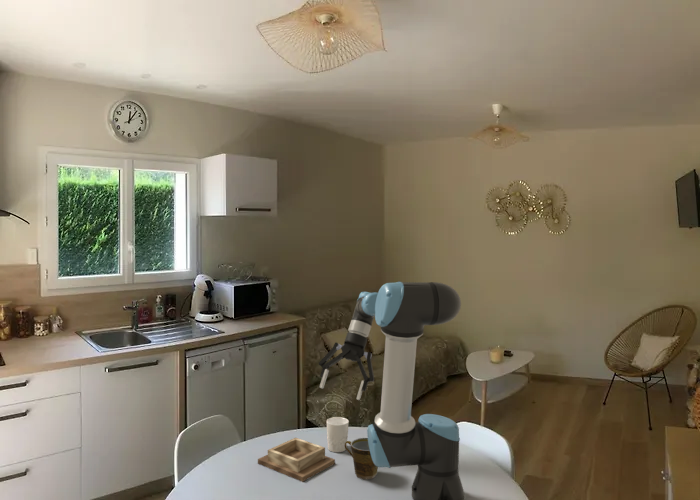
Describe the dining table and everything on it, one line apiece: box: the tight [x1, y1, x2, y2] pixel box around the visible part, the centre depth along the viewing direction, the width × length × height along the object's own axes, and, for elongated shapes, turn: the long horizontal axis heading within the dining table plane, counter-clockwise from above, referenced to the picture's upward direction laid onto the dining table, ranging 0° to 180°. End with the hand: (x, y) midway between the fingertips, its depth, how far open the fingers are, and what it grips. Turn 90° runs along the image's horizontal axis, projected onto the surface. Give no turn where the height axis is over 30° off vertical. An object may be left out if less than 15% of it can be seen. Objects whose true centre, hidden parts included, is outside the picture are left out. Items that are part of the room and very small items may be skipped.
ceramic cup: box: [345, 437, 379, 480], centre depth 166 cm, size 13×10×10 cm
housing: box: [257, 437, 336, 483], centre depth 172 cm, size 20×16×5 cm
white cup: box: [326, 416, 350, 453], centre depth 185 cm, size 8×8×10 cm
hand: (339, 393), depth 178 cm, fingers open, 13 cm apart
